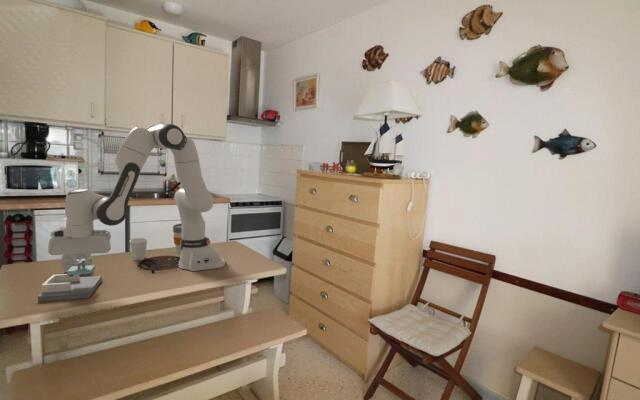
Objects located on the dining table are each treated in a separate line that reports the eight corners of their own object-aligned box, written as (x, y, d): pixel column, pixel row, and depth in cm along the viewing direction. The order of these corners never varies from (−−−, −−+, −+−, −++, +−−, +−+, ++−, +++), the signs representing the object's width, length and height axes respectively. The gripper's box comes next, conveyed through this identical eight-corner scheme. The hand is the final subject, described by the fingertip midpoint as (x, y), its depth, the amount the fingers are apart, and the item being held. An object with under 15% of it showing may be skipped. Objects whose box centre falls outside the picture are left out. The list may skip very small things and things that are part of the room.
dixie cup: (130, 256, 178) (130, 238, 176) (148, 255, 181) (147, 237, 180) (129, 261, 170) (128, 242, 169) (147, 260, 174) (147, 241, 172)
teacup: (57, 272, 152) (56, 255, 151) (83, 265, 161) (82, 249, 160) (74, 278, 145) (73, 261, 144) (100, 271, 155) (99, 255, 154)
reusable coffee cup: (199, 248, 198) (199, 224, 196) (191, 255, 185) (191, 228, 183) (178, 247, 198) (178, 222, 196) (168, 254, 185) (168, 227, 183)
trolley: (95, 271, 139) (95, 258, 138) (91, 276, 133) (90, 262, 132) (72, 272, 136) (71, 259, 135) (66, 277, 130) (66, 263, 129)
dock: (101, 280, 145) (101, 269, 145) (89, 297, 129) (88, 285, 128) (57, 283, 140) (56, 271, 139) (38, 301, 123) (37, 288, 122)
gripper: (112, 228, 139) (113, 260, 140) (52, 229, 132) (53, 263, 133) (108, 231, 133) (109, 265, 134) (45, 232, 126) (47, 268, 128)
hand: (81, 264), depth 134 cm, fingers closed on trolley
